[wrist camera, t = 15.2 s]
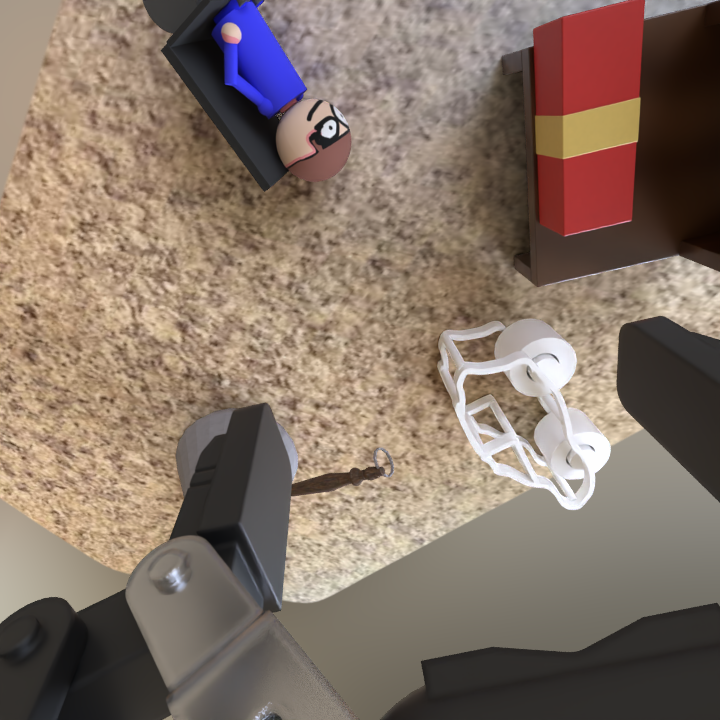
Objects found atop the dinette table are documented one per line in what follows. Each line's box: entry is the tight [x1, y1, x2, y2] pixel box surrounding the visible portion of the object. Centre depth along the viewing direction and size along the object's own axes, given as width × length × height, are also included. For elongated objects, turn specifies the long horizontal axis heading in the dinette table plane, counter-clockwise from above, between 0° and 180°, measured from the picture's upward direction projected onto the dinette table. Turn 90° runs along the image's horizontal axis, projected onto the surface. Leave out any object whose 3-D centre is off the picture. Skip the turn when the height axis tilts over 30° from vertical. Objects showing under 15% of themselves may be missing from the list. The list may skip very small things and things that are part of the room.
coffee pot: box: [176, 408, 394, 498], centre depth 40 cm, size 21×12×15 cm, turn 123°
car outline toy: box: [437, 318, 611, 510], centre depth 44 cm, size 20×11×7 cm, turn 29°
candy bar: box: [533, 0, 645, 236], centre depth 30 cm, size 12×5×4 cm, turn 12°
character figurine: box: [143, 0, 351, 192], centre depth 30 cm, size 8×7×15 cm
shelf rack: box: [502, 0, 720, 287], centre depth 30 cm, size 16×16×17 cm
